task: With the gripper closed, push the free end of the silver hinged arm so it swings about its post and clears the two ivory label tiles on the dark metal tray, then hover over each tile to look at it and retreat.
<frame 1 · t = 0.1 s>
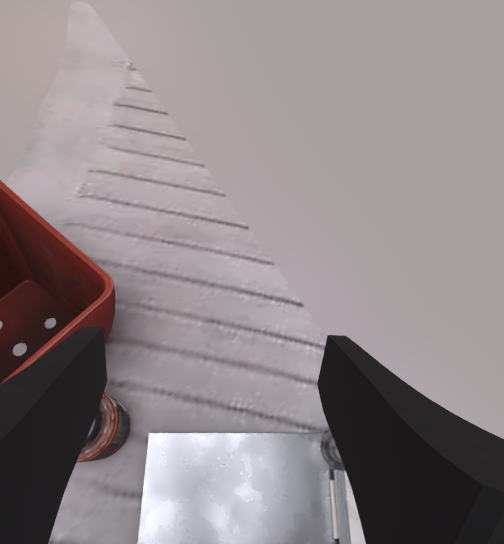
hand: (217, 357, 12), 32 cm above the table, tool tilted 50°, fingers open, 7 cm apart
pivot post: (334, 448, 42), resting on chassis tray
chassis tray: (263, 526, 38), on the table
label B: (351, 506, 40), resting on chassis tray
plant pot: (19, 349, 42), on the table
supplement bottle: (101, 428, 40), on the table
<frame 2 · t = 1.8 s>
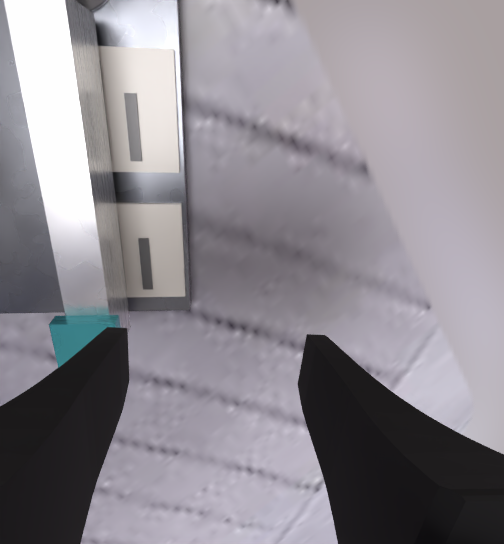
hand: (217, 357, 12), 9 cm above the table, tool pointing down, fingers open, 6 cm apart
label B: (124, 112, 18), resting on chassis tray
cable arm: (81, 206, 15), point 4 cm above the table, hinge at 0.0°
label A: (137, 244, 20), resting on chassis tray
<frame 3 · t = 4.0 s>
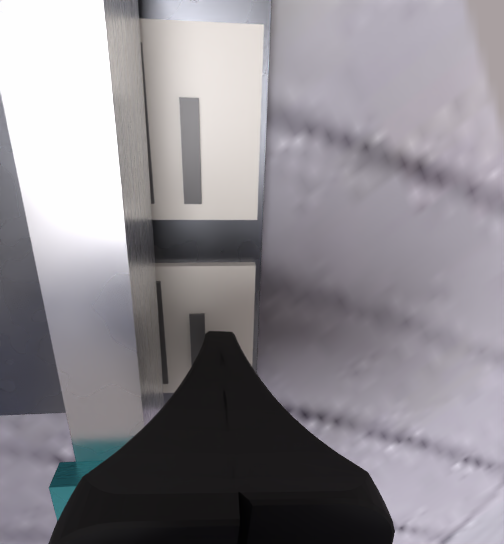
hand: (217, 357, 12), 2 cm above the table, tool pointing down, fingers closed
label B: (172, 126, 11), resting on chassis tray
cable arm: (105, 287, 9), point 4 cm above the table, hinge at 0.9°, touching gripper
label A: (182, 314, 14), resting on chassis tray
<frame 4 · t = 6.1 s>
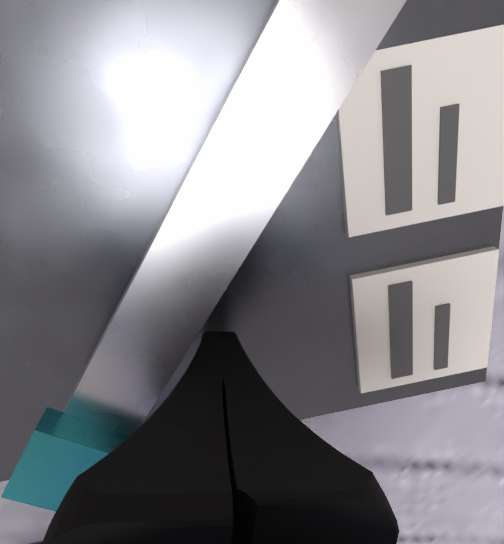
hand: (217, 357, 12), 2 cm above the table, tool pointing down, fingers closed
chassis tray: (135, 237, 13), on the table
label B: (406, 135, 12), resting on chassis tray
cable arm: (184, 261, 9), point 4 cm above the table, hinge at 41.5°, touching gripper
label A: (408, 308, 15), resting on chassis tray
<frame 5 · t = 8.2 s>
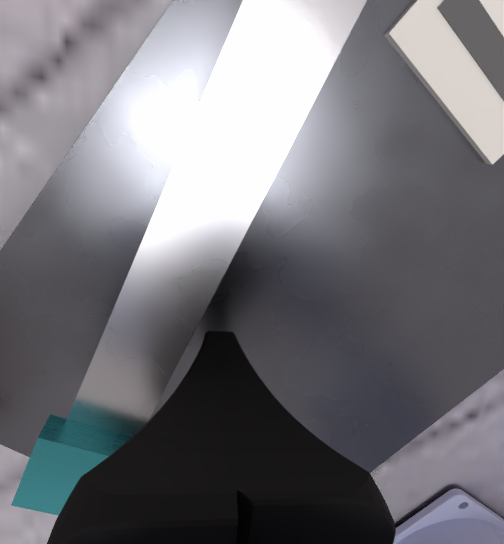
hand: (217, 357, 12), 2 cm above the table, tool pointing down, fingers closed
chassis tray: (302, 284, 14), on the table
label B: (487, 34, 11), resting on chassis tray
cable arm: (177, 261, 9), point 4 cm above the table, hinge at 75.4°, touching gripper
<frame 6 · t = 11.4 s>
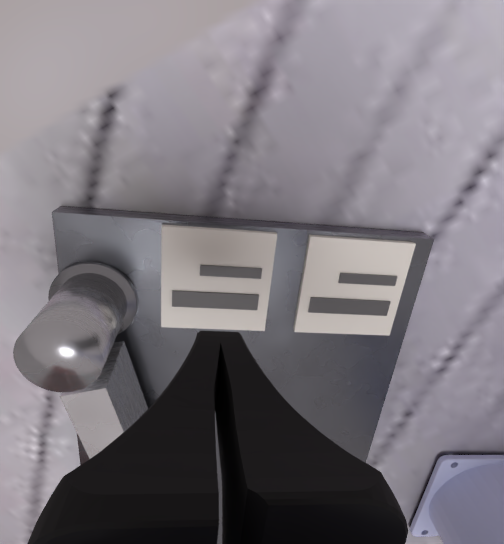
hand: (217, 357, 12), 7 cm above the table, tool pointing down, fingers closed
pivot post: (101, 289, 18), resting on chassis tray
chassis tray: (232, 415, 22), on the table
label B: (216, 271, 19), resting on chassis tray
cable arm: (138, 483, 19), point 4 cm above the table, hinge at 75.4°
label A: (344, 278, 19), resting on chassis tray
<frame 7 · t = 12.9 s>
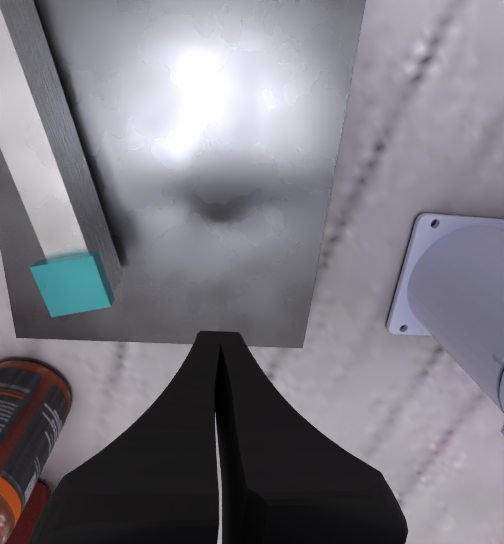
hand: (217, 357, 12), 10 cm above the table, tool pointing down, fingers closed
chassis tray: (169, 131, 19), on the table
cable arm: (40, 145, 15), point 4 cm above the table, hinge at 75.4°
supplement bottle: (28, 390, 25), on the table
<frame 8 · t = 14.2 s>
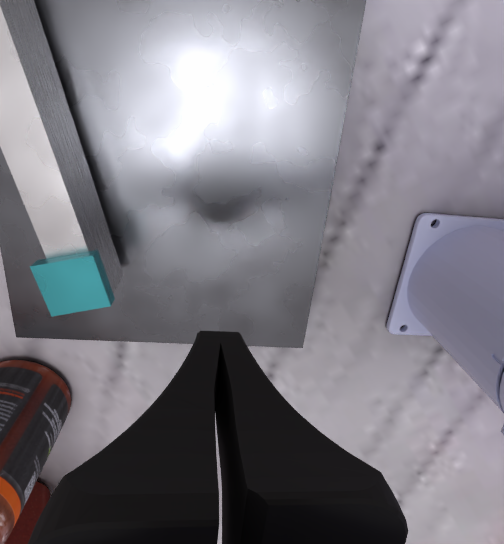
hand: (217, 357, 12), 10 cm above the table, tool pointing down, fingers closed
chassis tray: (170, 131, 19), on the table
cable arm: (40, 144, 15), point 4 cm above the table, hinge at 75.4°
supplement bottle: (28, 390, 25), on the table
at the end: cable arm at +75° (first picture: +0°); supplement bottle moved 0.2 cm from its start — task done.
